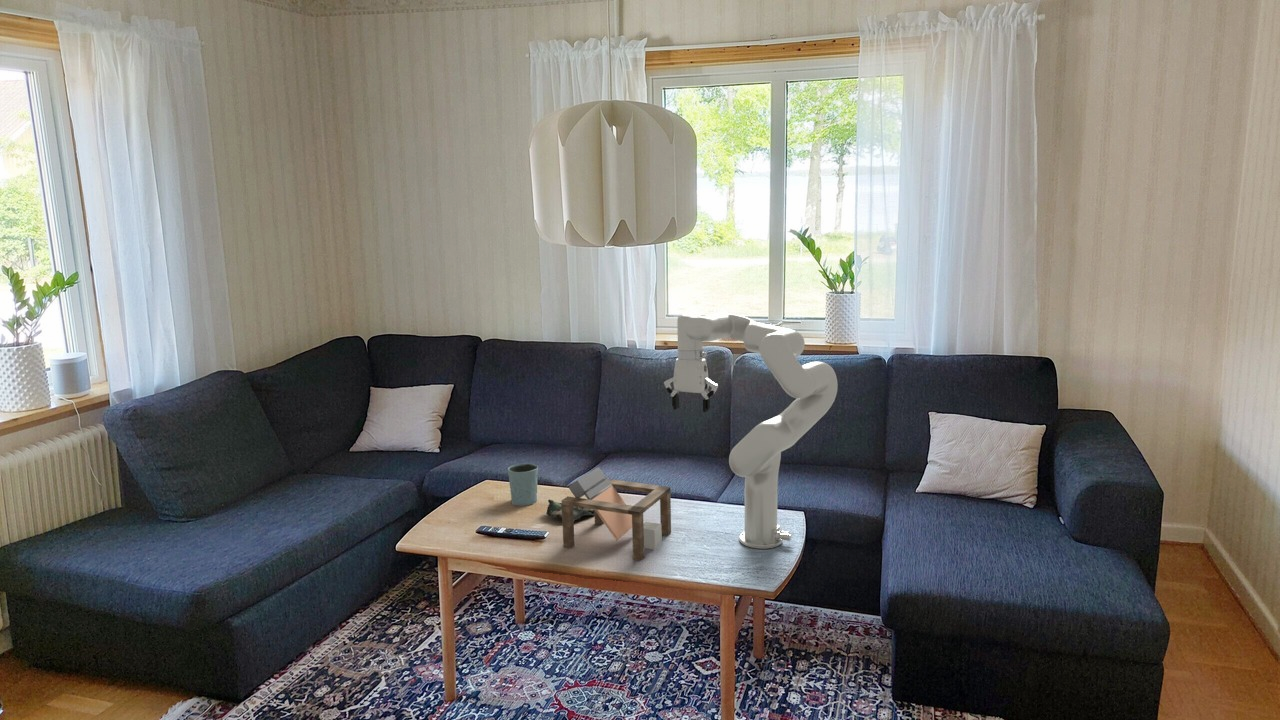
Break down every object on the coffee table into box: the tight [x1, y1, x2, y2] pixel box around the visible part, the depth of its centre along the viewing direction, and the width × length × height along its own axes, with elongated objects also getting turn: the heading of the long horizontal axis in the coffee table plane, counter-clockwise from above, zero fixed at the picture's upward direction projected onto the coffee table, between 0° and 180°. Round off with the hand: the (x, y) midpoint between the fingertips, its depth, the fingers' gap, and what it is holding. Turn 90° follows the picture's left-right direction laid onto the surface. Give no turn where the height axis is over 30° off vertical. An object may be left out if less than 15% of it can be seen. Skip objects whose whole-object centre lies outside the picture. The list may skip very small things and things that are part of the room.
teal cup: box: [507, 462, 539, 507], centre depth 285 cm, size 10×10×12 cm
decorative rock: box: [546, 499, 595, 522], centre depth 273 cm, size 19×6×15 cm
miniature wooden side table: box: [561, 478, 672, 562], centre depth 250 cm, size 25×22×14 cm
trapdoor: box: [568, 466, 632, 541], centre depth 251 cm, size 21×14×4 cm
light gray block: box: [643, 521, 663, 550], centre depth 246 cm, size 5×5×6 cm
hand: (691, 409), depth 257 cm, fingers open, 9 cm apart
